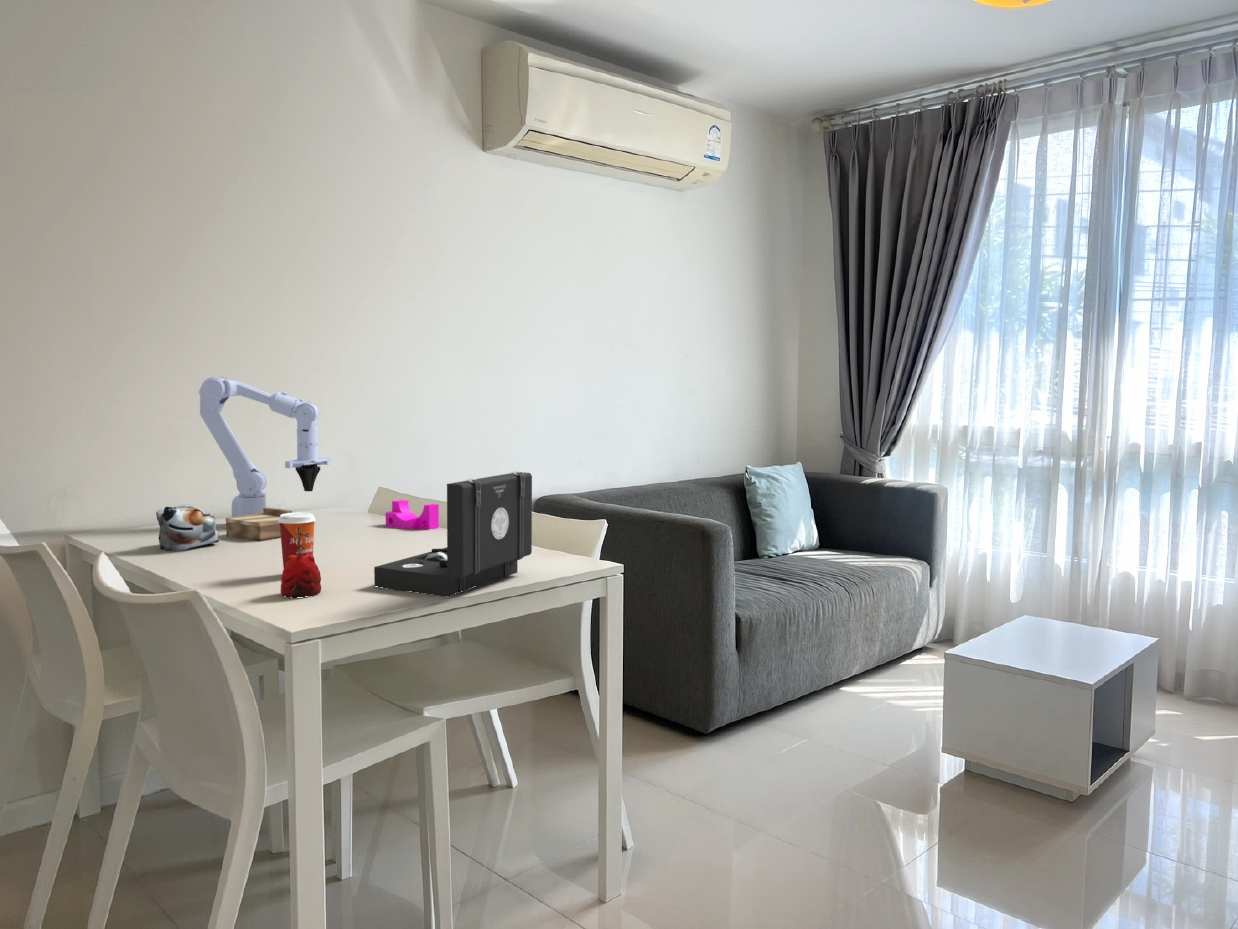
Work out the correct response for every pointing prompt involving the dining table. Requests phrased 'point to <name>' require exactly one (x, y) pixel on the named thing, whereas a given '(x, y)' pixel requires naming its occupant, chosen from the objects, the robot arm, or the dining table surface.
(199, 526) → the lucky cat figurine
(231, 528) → the walnut box
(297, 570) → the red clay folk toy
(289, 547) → the paper cup
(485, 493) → the watch box
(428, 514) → the toy block
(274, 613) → the dining table surface
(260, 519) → the lid
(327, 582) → the dining table surface
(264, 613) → the dining table surface
